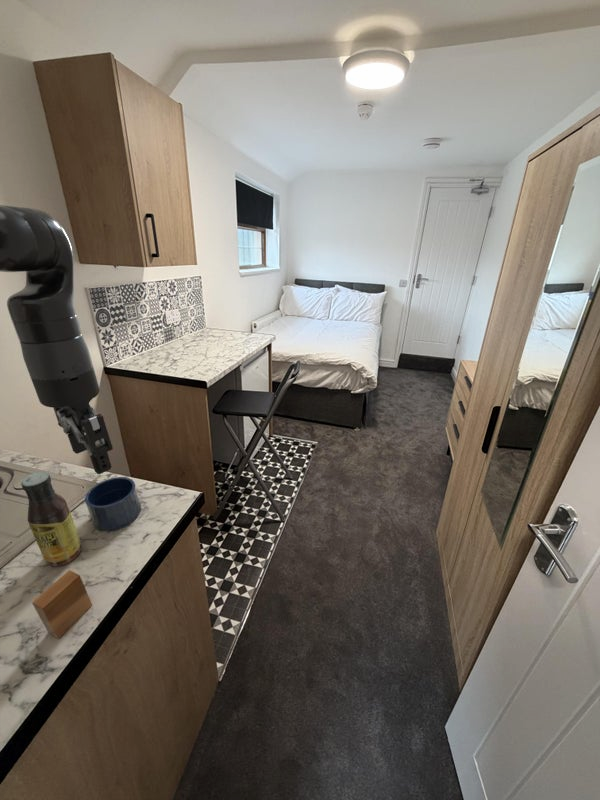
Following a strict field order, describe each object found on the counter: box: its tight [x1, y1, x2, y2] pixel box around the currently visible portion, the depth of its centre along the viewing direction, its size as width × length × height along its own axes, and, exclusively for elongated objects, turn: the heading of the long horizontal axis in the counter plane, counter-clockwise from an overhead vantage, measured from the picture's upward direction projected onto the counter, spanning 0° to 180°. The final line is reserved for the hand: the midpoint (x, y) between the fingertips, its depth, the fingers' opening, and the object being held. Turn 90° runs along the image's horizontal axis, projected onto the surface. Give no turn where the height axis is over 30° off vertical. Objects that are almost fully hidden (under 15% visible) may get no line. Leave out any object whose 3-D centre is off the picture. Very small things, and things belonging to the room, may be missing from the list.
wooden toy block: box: [31, 569, 93, 640], centre depth 53 cm, size 2×6×8 cm, turn 158°
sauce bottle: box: [20, 471, 82, 567], centre depth 62 cm, size 7×6×20 cm
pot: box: [84, 476, 142, 532], centre depth 75 cm, size 10×10×7 cm
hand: (92, 460), depth 53 cm, fingers open, 8 cm apart
